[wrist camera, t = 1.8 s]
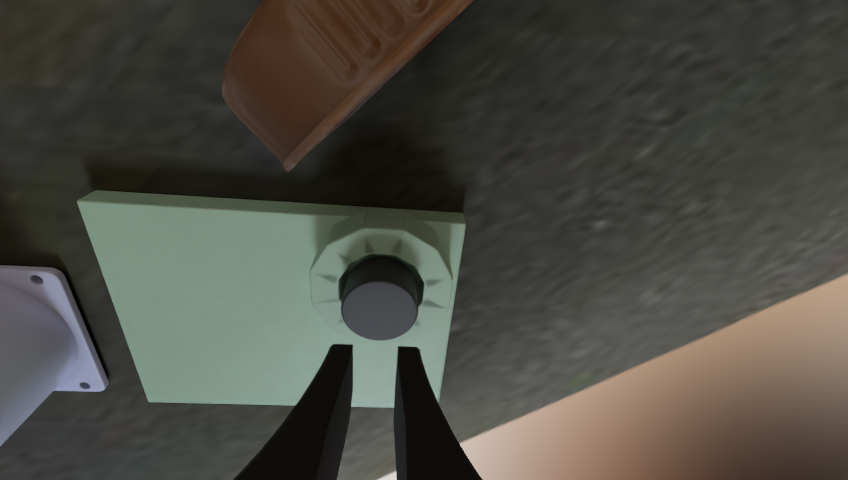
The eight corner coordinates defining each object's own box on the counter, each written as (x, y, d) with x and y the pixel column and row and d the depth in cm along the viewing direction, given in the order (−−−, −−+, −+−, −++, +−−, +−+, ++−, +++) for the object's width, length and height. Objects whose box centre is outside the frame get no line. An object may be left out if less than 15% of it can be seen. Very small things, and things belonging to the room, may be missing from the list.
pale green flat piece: (159, 385, 23) (127, 432, 20) (92, 179, 17) (34, 208, 14) (436, 392, 24) (440, 437, 21) (464, 203, 18) (474, 233, 16)
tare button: (346, 312, 18) (341, 340, 16) (346, 254, 16) (339, 278, 15) (414, 315, 18) (415, 342, 16) (419, 257, 16) (421, 282, 15)
